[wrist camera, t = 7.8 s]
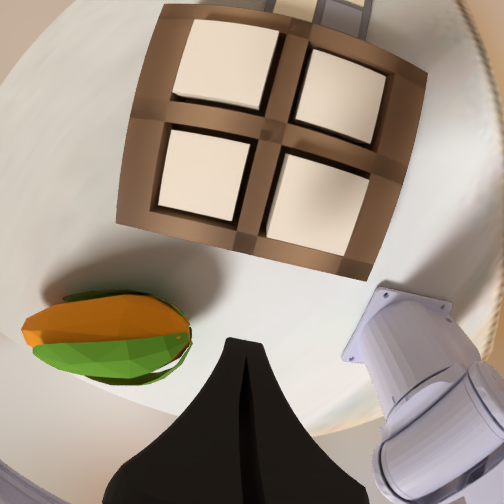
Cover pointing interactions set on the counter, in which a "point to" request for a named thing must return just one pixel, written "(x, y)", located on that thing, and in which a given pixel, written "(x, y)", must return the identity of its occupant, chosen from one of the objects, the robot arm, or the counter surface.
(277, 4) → the card
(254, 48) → the button
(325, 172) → the button
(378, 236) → the button board
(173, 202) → the button
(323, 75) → the button
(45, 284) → the counter surface
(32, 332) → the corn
